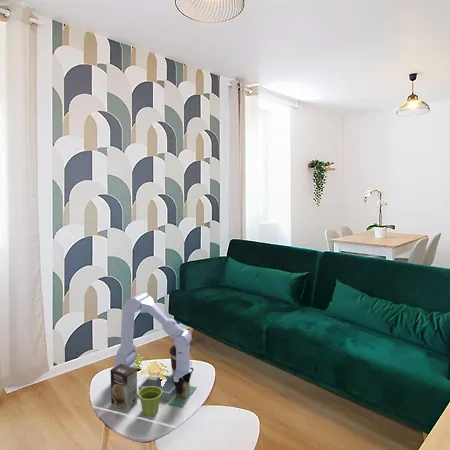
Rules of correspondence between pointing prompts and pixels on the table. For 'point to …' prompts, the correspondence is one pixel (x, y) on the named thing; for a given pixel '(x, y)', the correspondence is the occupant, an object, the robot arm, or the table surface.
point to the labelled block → (184, 391)
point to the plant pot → (150, 399)
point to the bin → (164, 388)
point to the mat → (181, 399)
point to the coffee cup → (174, 359)
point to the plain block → (153, 381)
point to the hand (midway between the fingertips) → (182, 388)
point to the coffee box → (123, 387)
